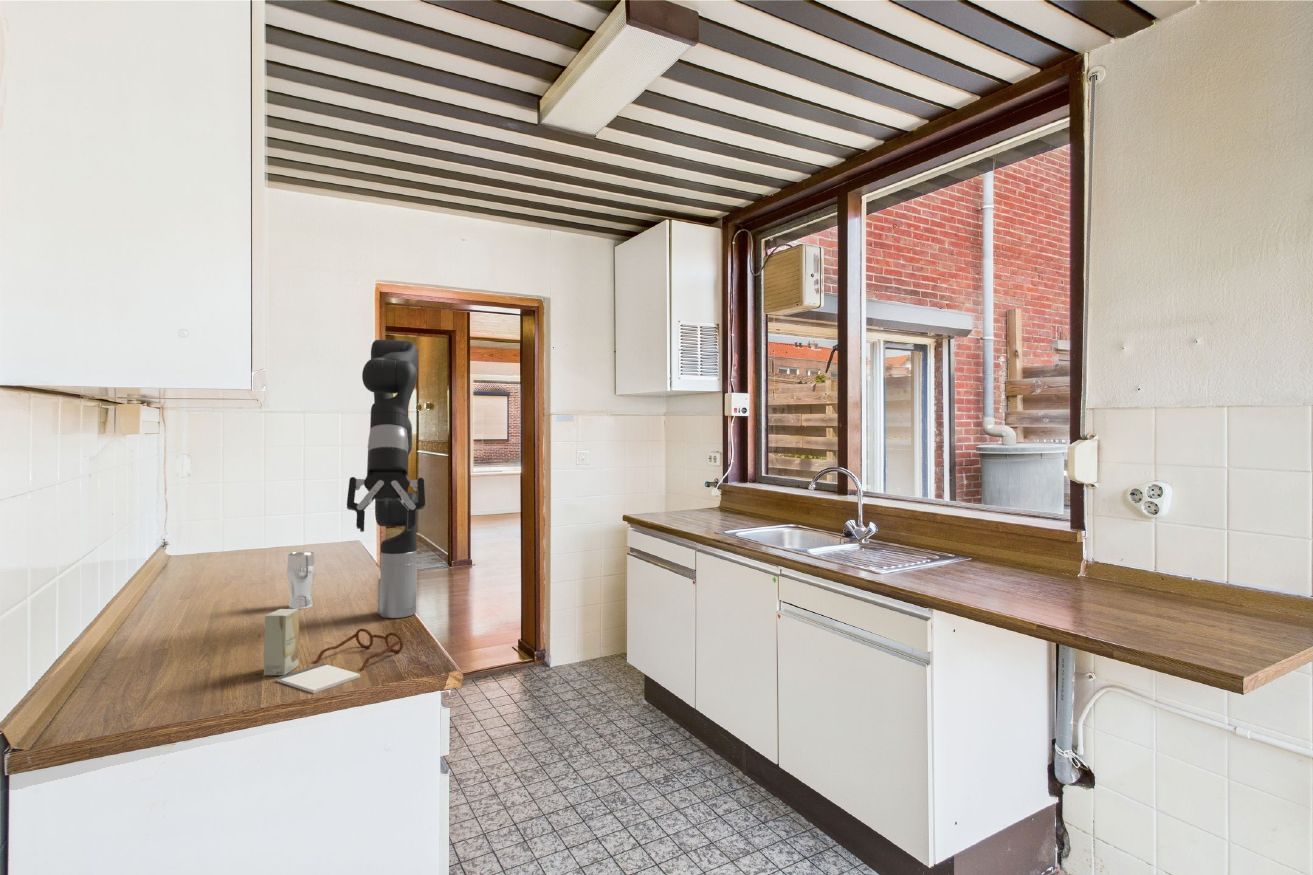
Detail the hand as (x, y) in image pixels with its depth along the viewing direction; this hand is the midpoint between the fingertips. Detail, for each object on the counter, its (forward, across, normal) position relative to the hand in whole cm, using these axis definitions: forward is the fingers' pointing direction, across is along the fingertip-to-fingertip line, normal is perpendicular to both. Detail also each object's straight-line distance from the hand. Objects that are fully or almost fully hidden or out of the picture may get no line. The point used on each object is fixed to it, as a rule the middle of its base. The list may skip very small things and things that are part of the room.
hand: (385, 530), depth 131 cm
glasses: (+23, +4, -30) cm, 38 cm away
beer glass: (+5, +19, -81) cm, 83 cm away
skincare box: (+24, +18, -27) cm, 41 cm away
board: (+26, +11, -19) cm, 34 cm away
